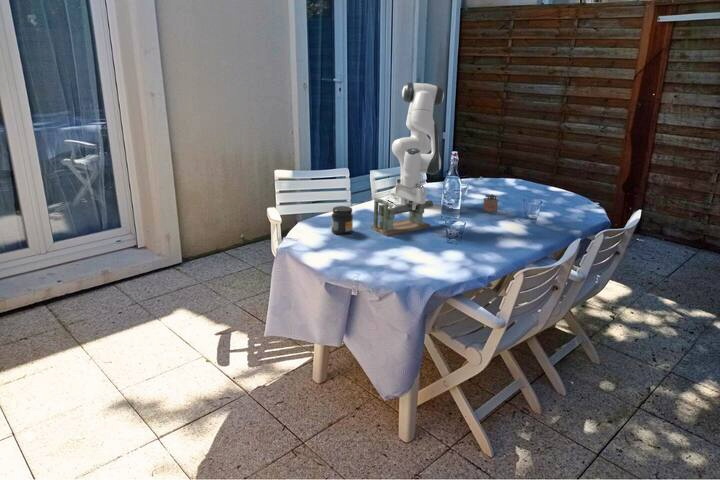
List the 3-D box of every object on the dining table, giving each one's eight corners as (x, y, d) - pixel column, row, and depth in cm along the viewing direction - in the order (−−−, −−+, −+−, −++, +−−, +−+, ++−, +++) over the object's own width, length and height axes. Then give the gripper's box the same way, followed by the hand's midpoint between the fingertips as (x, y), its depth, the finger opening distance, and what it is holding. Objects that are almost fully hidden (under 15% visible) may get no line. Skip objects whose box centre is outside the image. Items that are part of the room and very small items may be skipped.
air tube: (390, 216, 271) (390, 208, 269) (384, 214, 274) (385, 206, 273) (433, 209, 286) (433, 201, 285) (427, 206, 289) (428, 198, 288)
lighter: (496, 211, 314) (498, 194, 311) (497, 212, 311) (499, 195, 308) (482, 210, 315) (484, 193, 311) (482, 212, 312) (484, 195, 308)
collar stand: (370, 229, 278) (372, 197, 272) (413, 220, 293) (415, 190, 287) (386, 236, 267) (388, 203, 262) (430, 227, 283) (432, 196, 277)
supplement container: (357, 232, 272) (357, 208, 268) (342, 236, 265) (342, 213, 261) (342, 227, 279) (342, 204, 275) (327, 231, 272) (327, 208, 268)
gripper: (429, 185, 269) (428, 212, 273) (403, 177, 284) (402, 203, 289) (420, 186, 265) (418, 214, 270) (393, 178, 281) (392, 204, 286)
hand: (409, 208), depth 280 cm, fingers closed on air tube, 4 cm apart
